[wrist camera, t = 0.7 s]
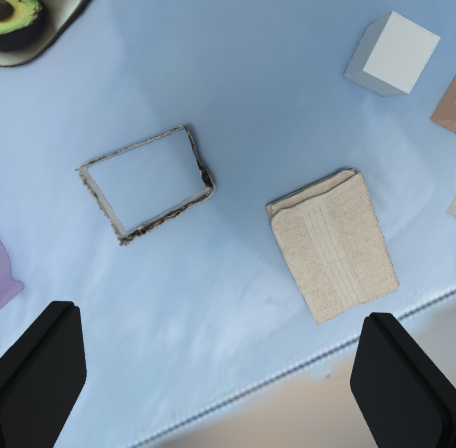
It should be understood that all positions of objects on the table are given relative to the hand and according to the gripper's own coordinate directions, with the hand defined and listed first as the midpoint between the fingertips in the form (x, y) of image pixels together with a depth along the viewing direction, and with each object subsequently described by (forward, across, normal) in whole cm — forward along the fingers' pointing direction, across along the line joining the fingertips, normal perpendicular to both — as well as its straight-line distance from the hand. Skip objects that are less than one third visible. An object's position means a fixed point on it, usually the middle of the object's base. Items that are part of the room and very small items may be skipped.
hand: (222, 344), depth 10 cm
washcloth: (+28, -14, +8) cm, 33 cm away
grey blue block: (+28, -15, -13) cm, 34 cm away
